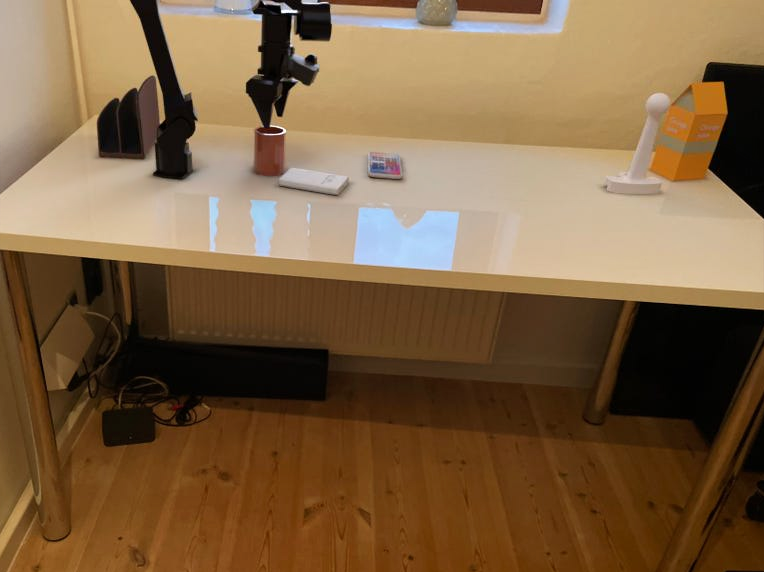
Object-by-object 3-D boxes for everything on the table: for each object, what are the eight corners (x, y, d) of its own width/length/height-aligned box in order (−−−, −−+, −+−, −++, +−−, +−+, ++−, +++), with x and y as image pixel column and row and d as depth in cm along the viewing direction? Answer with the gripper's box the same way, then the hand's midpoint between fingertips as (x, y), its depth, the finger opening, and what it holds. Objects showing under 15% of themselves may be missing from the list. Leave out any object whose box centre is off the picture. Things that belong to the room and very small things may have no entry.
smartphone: (400, 153, 167) (403, 176, 154) (399, 157, 167) (402, 180, 155) (367, 151, 167) (367, 173, 154) (367, 155, 167) (367, 177, 155)
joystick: (610, 193, 154) (639, 95, 143) (597, 181, 160) (623, 85, 149) (661, 194, 155) (693, 97, 144) (646, 182, 161) (675, 87, 150)
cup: (249, 173, 154) (250, 132, 150) (259, 163, 159) (259, 124, 155) (279, 177, 153) (280, 136, 148) (287, 167, 158) (289, 127, 154)
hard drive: (292, 174, 155) (348, 183, 152) (278, 186, 148) (337, 196, 145) (292, 166, 154) (349, 175, 151) (278, 178, 148) (337, 188, 144)
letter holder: (161, 133, 175) (157, 70, 167) (144, 159, 158) (139, 92, 150) (119, 131, 175) (113, 68, 167) (98, 157, 158) (91, 89, 150)
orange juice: (649, 169, 169) (677, 78, 158) (680, 167, 171) (710, 77, 160) (673, 181, 162) (704, 87, 151) (705, 178, 165) (738, 86, 154)
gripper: (304, 53, 132) (299, 140, 140) (328, 36, 147) (322, 116, 155) (245, 46, 134) (244, 132, 142) (274, 31, 149) (272, 109, 158)
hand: (273, 122), depth 149 cm, fingers open, 9 cm apart
